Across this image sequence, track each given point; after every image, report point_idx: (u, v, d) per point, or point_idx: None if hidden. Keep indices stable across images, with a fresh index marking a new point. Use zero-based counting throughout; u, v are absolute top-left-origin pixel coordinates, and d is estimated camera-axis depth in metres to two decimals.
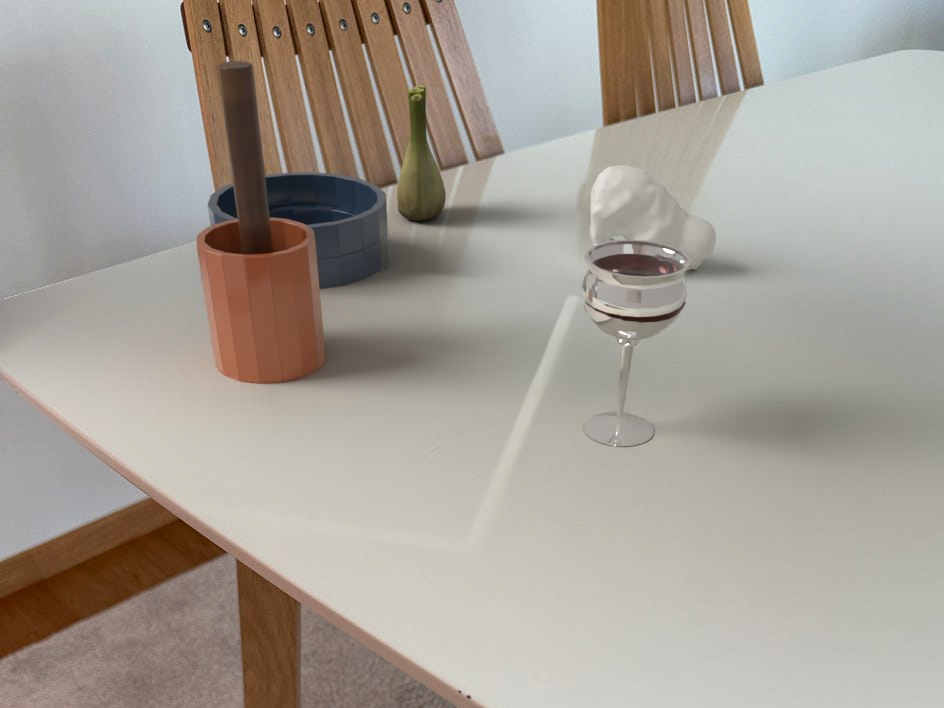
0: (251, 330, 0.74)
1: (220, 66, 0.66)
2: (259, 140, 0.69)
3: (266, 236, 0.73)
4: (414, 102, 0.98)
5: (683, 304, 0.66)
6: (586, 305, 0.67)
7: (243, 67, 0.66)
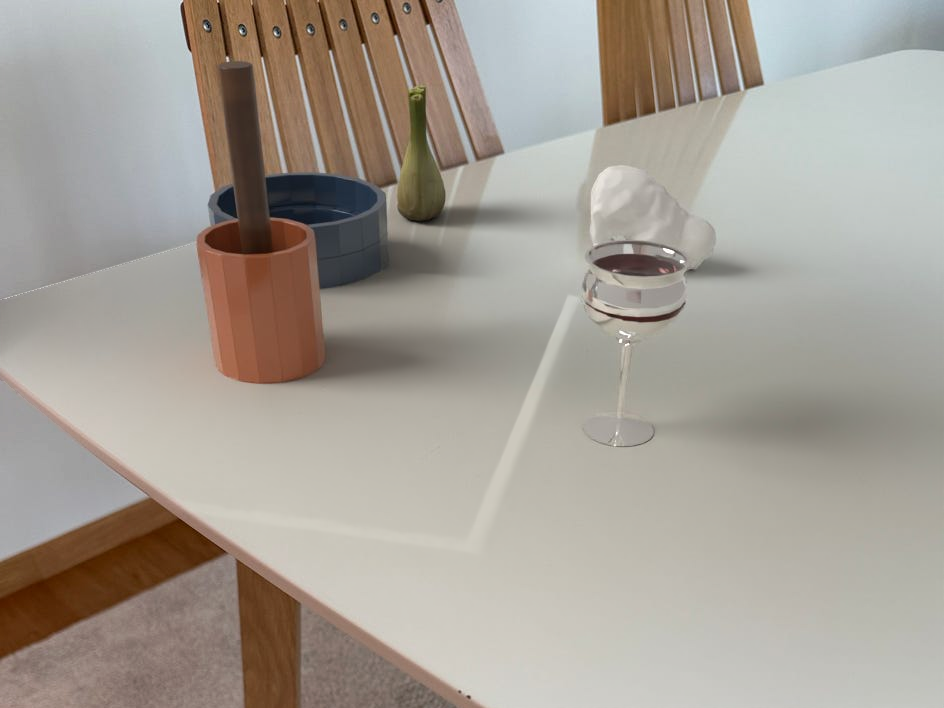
0: (251, 330, 0.74)
1: (220, 66, 0.66)
2: (259, 140, 0.69)
3: (266, 236, 0.73)
4: (414, 102, 0.98)
5: (683, 304, 0.66)
6: (586, 305, 0.67)
7: (243, 67, 0.66)
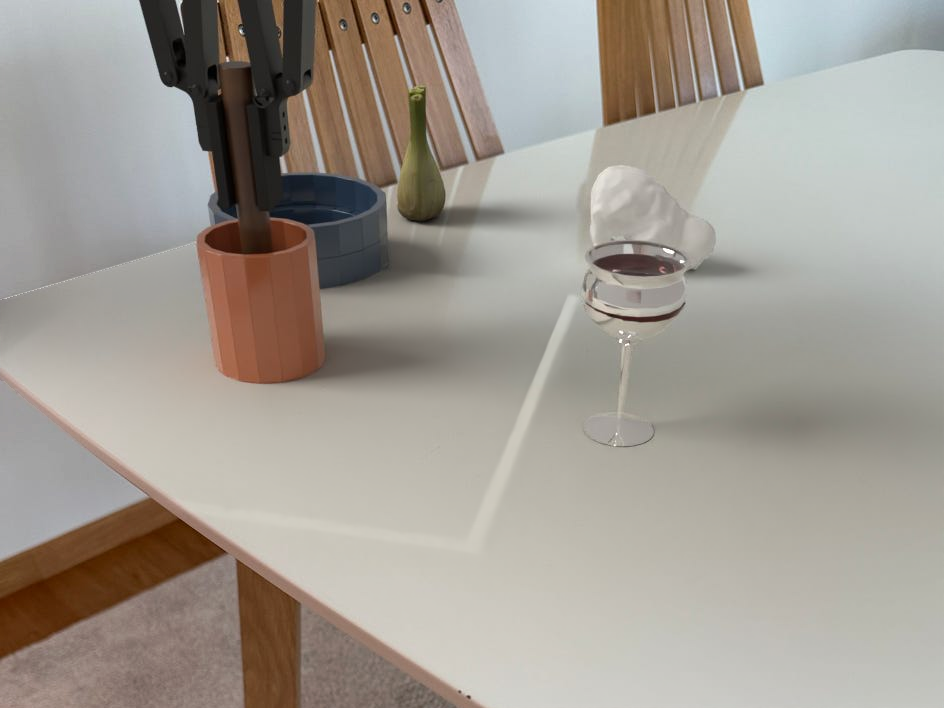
0: (251, 330, 0.74)
1: (220, 66, 0.66)
2: None
3: (266, 236, 0.73)
4: (414, 102, 0.98)
5: (683, 304, 0.66)
6: (586, 305, 0.67)
7: (243, 67, 0.66)
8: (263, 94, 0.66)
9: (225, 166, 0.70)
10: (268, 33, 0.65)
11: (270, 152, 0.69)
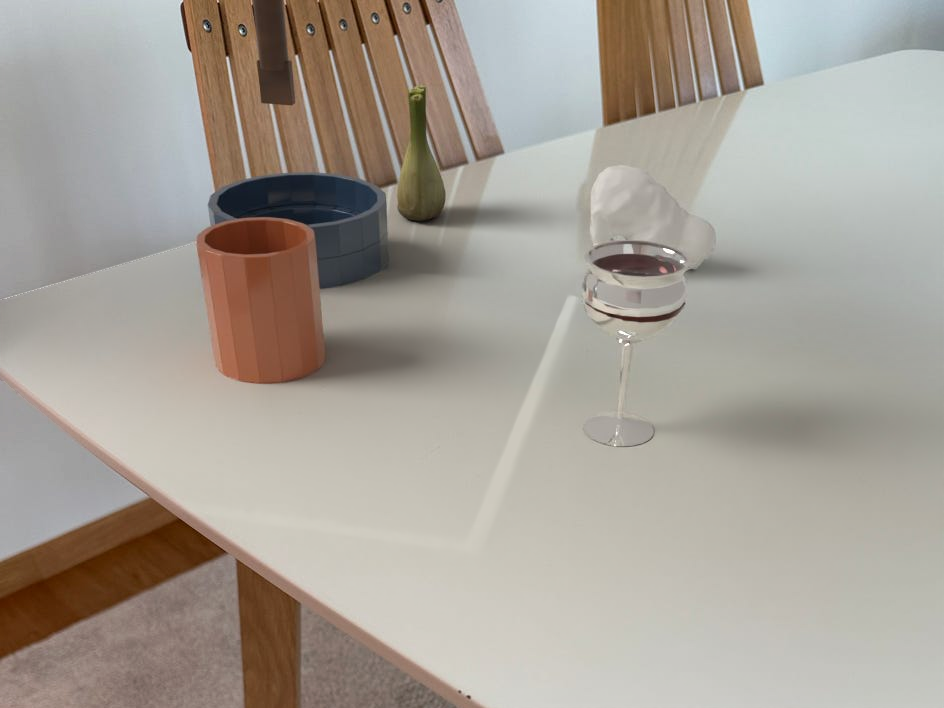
0: (251, 330, 0.74)
1: None
2: None
3: None
4: (414, 102, 0.98)
5: (683, 304, 0.66)
6: (586, 305, 0.67)
7: None
8: None
9: None
10: None
11: None
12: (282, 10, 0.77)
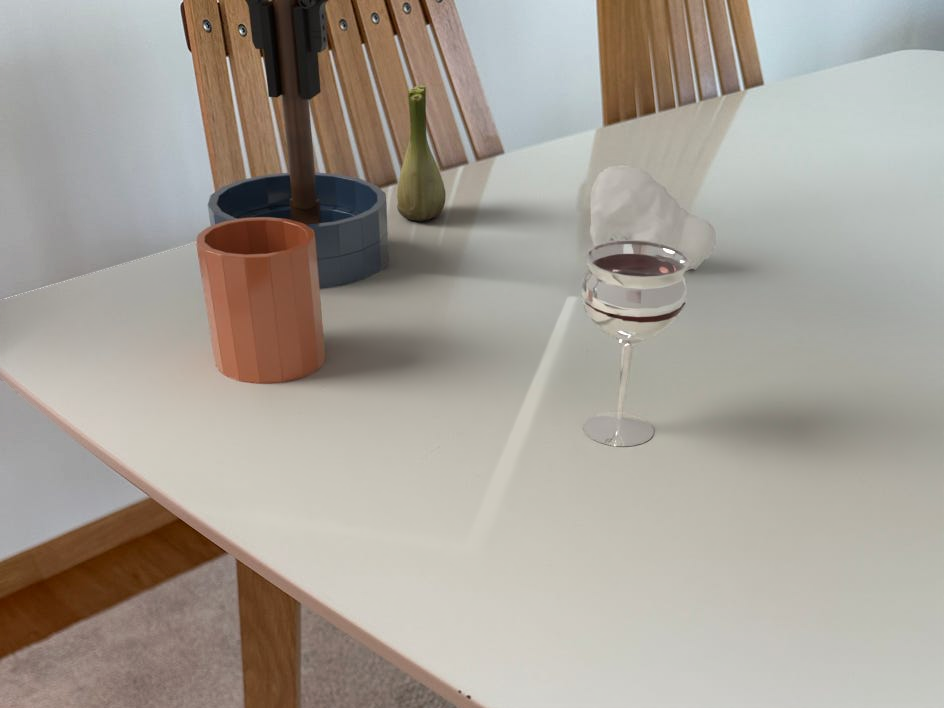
0: (251, 330, 0.74)
1: None
2: None
3: (306, 123, 0.88)
4: (413, 102, 0.98)
5: (683, 304, 0.66)
6: (586, 305, 0.67)
7: None
8: None
9: (274, 61, 0.85)
10: None
11: (311, 48, 0.84)
12: (313, 160, 0.90)
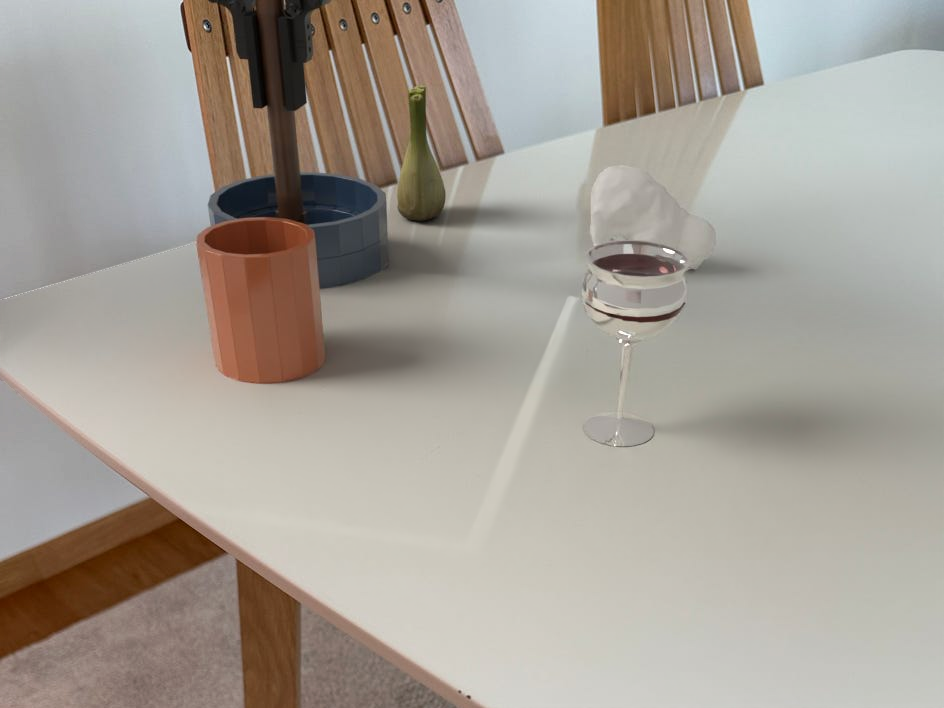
0: (251, 330, 0.74)
1: None
2: None
3: (292, 134, 0.86)
4: (414, 102, 0.98)
5: (683, 304, 0.66)
6: (586, 305, 0.67)
7: None
8: (291, 7, 0.79)
9: (258, 71, 0.83)
10: None
11: (296, 59, 0.82)
12: (299, 172, 0.89)
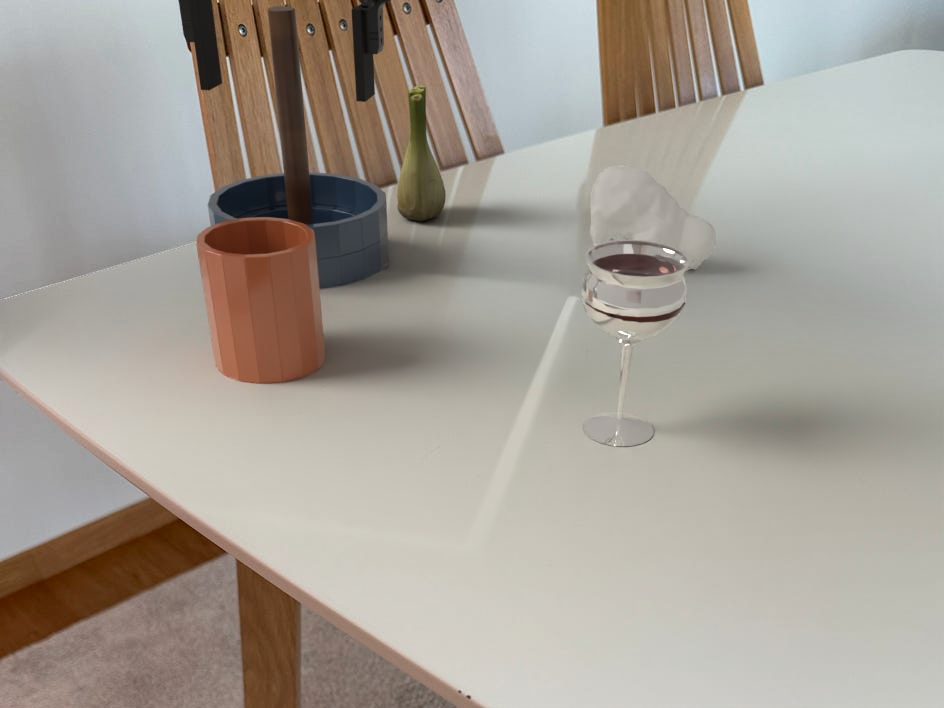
0: (251, 330, 0.74)
1: (269, 9, 0.83)
2: (299, 71, 0.86)
3: (303, 152, 0.90)
4: (414, 102, 0.98)
5: (683, 304, 0.66)
6: (586, 305, 0.67)
7: (288, 10, 0.83)
8: None
9: (205, 54, 0.86)
10: None
11: (368, 50, 0.83)
12: (309, 188, 0.92)
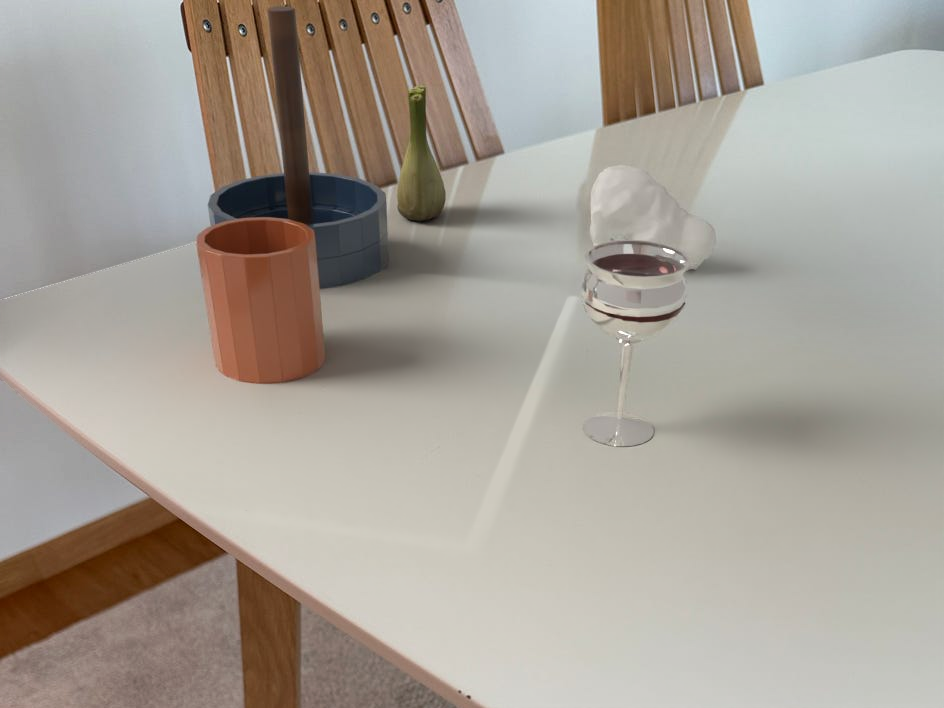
0: (251, 330, 0.74)
1: (269, 9, 0.83)
2: (299, 71, 0.86)
3: (303, 152, 0.90)
4: (414, 102, 0.98)
5: (683, 304, 0.66)
6: (586, 305, 0.67)
7: (288, 10, 0.83)
8: None
9: None
10: None
11: None
12: (309, 188, 0.92)
